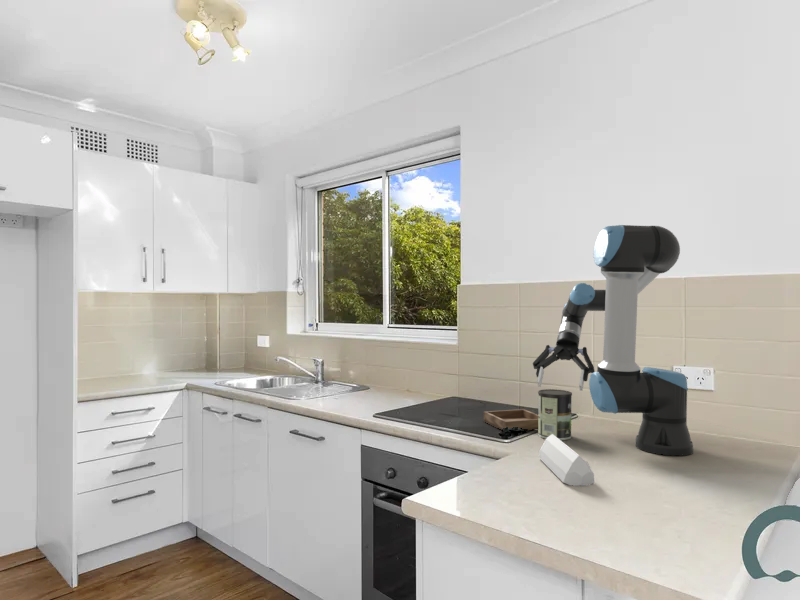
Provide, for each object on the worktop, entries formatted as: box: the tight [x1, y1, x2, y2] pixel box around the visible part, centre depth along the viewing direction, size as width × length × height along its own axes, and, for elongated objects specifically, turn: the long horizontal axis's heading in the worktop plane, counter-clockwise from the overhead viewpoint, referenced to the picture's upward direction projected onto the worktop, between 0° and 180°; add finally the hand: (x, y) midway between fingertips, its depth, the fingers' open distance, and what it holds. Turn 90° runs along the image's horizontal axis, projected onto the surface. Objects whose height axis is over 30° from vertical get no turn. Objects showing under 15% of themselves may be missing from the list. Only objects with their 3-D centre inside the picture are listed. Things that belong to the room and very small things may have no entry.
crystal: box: [538, 434, 595, 487], centre depth 138 cm, size 7×7×24 cm
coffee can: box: [537, 388, 573, 441], centre depth 172 cm, size 10×10×14 cm
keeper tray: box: [482, 408, 538, 430], centre depth 186 cm, size 16×16×4 cm
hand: (559, 386), depth 180 cm, fingers open, 13 cm apart
